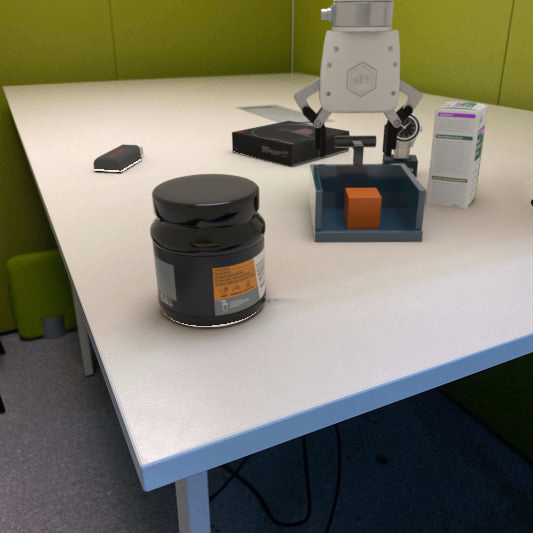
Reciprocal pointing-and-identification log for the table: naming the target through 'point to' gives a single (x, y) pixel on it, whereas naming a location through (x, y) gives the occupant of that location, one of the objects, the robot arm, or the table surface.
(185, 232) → the supplement container
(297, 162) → the black flat cardboard box
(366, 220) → the block
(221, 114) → the table surface
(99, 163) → the usb drive
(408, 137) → the watch
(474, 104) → the syrup box
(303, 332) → the table surface
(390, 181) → the blue open box
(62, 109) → the table surface
